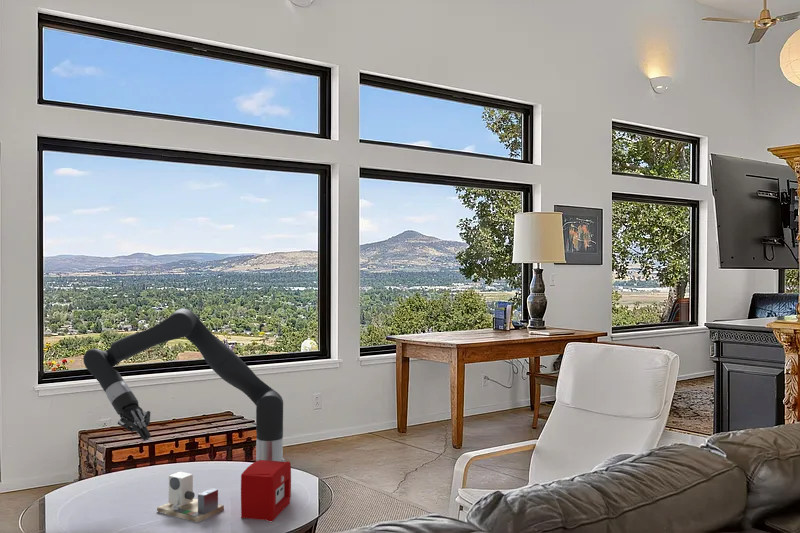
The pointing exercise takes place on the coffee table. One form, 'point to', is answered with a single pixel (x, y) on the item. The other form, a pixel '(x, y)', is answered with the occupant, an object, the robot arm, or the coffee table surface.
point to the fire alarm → (265, 489)
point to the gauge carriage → (181, 488)
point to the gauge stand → (188, 511)
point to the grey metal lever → (178, 503)
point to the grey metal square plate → (208, 501)
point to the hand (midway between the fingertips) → (147, 438)
